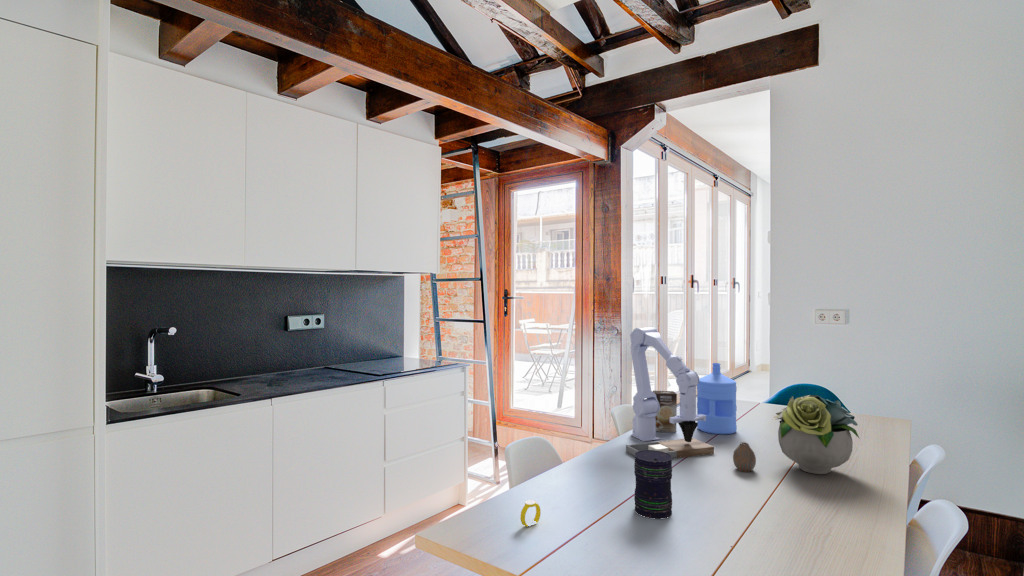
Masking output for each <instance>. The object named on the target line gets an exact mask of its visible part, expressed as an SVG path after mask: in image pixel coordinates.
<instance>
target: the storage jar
mask: <svg viewBox="0 0 1024 576" xmlns="http://www.w3.org/2000/svg"><path fill="white" fill-rule="evenodd" d="M672 461H673V459H672V456H671V455H670V454H668V453H665V452H661V451H655V450H642V451H638V452H636V453H635V457H634V466H633V467H634V468H633V469H634V476H635V488H634V496H633V497H634V499H633V500H634V512H635V511H636V512H637V513H638V514H637V513H636V512H635V513H636V514H637V515H639V514H640V515H642V516H641V517H643V516H645V517H644V518H646V517H649V518H648V519H650V518H655V519H654V520H662V519H661V518H665V519H667V517H668V518H670V517H671V516H672V515H673V511H672V508H673V492H672V479H673V462H672ZM640 515H639V516H640Z"/></svg>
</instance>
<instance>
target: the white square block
mask: <svg viewBox="0 0 1024 576" xmlns="http://www.w3.org/2000/svg"><path fill="white" fill-rule="evenodd" d="M648 450H655V451H661V452H669V448H668V447H665V446H663V445H661V444H656V445H649V446H648Z"/></svg>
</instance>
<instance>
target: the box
mask: <svg viewBox="0 0 1024 576" xmlns="http://www.w3.org/2000/svg"><path fill="white" fill-rule="evenodd" d="M658 442H659V441H653V442H651V441H650V442H644V443H635V444H626V445H625V453H627V454H629V455H631V456H632V455H633V456H632V457H634V458H635V453H636V452H638V451H642V450H648V446H649V445H656V444H658ZM665 453H668V454H670V455H671V456H672V460H674V458H675V459H678V458H677V451H669V452H665Z"/></svg>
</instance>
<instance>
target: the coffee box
mask: <svg viewBox="0 0 1024 576" xmlns="http://www.w3.org/2000/svg"><path fill="white" fill-rule="evenodd" d="M652 392H654V393H655V394H656V397H657V400H658V402H659V405H660V409H659V411H658V412H657V415H656V432H660V431H666V432H665V433H676V432H677V423H675V424H672V423H670V417H675V416H678V415H677V406H678V405H677V404H678V401H677V400H678V398H677V397H678V394H677V393H676V392H675V391H674V390H671V391H670V390H652Z"/></svg>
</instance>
